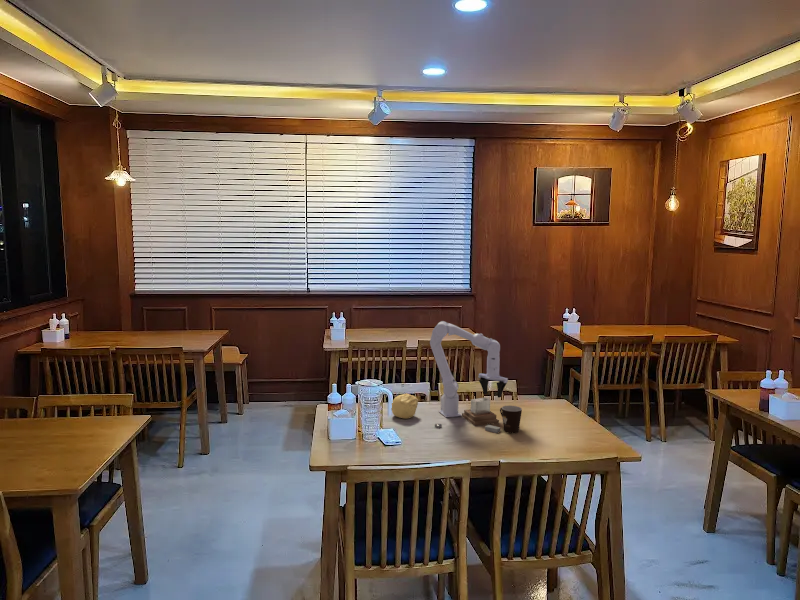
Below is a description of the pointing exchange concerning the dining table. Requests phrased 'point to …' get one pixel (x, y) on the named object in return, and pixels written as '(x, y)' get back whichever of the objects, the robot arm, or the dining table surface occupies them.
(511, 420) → the coffee mug
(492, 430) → the grey offcut
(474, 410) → the block
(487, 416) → the stand
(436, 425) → the steel nut
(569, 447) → the dining table surface
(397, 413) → the tan rounded lump
